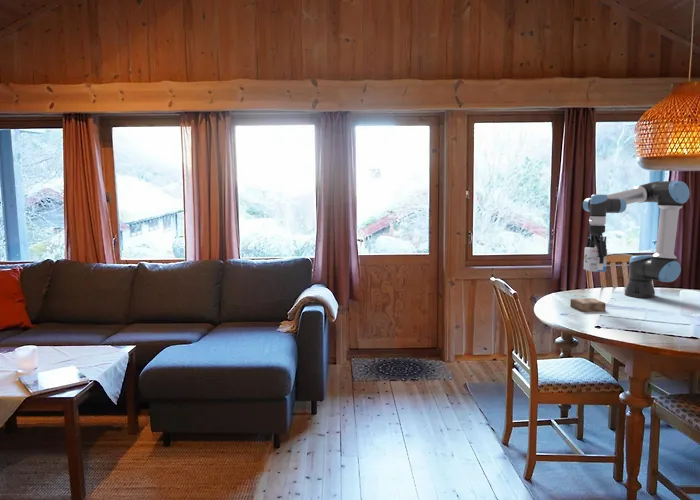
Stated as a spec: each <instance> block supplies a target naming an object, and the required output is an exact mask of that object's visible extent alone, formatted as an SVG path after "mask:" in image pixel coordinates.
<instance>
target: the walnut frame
mask: <svg viewBox="0 0 700 500" xmlns="http://www.w3.org/2000/svg"><path fill="white" fill-rule="evenodd" d="M569 306H570V307H571V308H573V309H575V310H577V311H579V312H582V313H583V312H584V313H585V312H590V313H591V312H606V303H605V302H603V301H601V300H598V299H596V298H593V297H589V298H588V297H586V298H583V297H581V298H570V305H569Z"/></svg>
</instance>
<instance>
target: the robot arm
mask: <svg viewBox="0 0 700 500" xmlns="http://www.w3.org/2000/svg"><path fill="white" fill-rule="evenodd" d="M690 195H691V194H690V189H689V186H688V185H687V183H685V182H684V181H681V180H665V181H659V180H657V181H652V182H647V183H645V184H641V185H637V186H634V188H631V189H628V190H627V189H626V190H623V191H619V192H615V193H610V194H592V195H591V196H590V197H588V198H585V199H584V200H583V201H582V209H583V210H584V211H586V212H588V213H589V218H588V221H589V222H588V223H589V225H588V233H590V234H587V236H586V243H585V247H597V249H598V255H599V256H597V257H598V260H597V270H603V261H604V257H605V256H607V255H608V249H607V236H603V234H604V233H605V232H606V224H607V223H606V222H607V214H619V213H620V214H622V213H624V212H625V211H626V209H627V205H632V204H635V203H638V204H643V203H657V205H656V206H657V207H658V208H659V217H658V225H657V226H658V227H657V236H656V245H655V252H654V253H653V254H652V255H650V254H646V255H644V254H643V255H632V256H630V257H629V258H630V259H629V262H628V263H629V264H628V265H629V267H628V269H629V270H628V283H627V285H626V287H625V290H624V295H625V296H628V297H632V298H640V299H642V298H643V299H645V298H646V299H652V298H655V297H656V292H655V287H654V285H653V280H654V281H658V282H662V283H664V282H665V283H672V282H674V281H676V280H677V279H678V278H679V276H680V274H681V271H682V268H681V267H682V266H681V264H680V263H679V262H678V261H677V260H678V258H677V256H676V255H675V247H676V239H677V229H678V221H679V214H680V213H679V211H680V209H682V208H683V206H684V205H683V204H685V203H687V202H688V200H689V199H690ZM606 249H607V250H606ZM607 257H608V256H607Z"/></svg>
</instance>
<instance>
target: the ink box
mask: <svg viewBox="0 0 700 500" xmlns="http://www.w3.org/2000/svg"><path fill="white" fill-rule="evenodd" d="M606 250H607V251H608V249H607V248H606ZM583 254H584V255H583V270H585V271H587V272H605V273H606V272H607V259H608V256H605V257H604V261H603V270H597V260H598V257H597V256H599V255H598V249H597V246H595V247H586V246H585V247H584V253H583Z"/></svg>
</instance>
